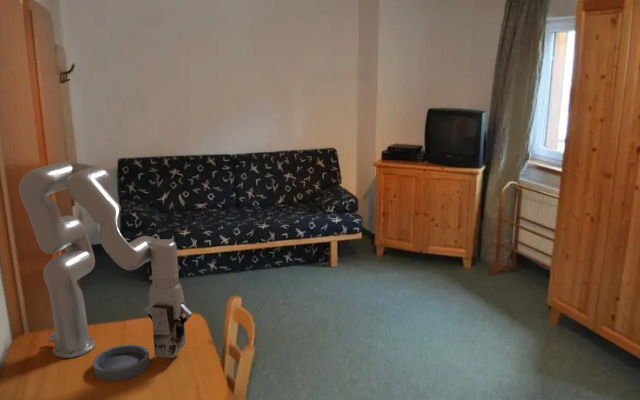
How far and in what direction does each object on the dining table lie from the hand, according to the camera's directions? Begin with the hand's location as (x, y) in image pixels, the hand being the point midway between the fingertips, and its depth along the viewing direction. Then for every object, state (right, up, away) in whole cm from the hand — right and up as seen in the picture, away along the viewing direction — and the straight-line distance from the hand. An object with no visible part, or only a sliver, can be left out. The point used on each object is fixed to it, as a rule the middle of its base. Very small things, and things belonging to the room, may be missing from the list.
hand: (169, 334), depth 174 cm
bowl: (-14, -9, -2) cm, 17 cm away
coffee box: (0, -5, +1) cm, 5 cm away
